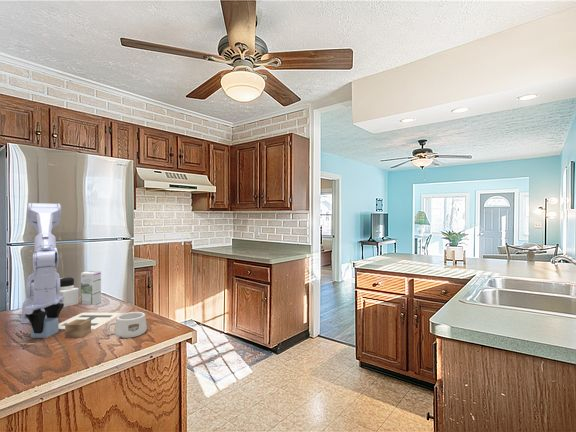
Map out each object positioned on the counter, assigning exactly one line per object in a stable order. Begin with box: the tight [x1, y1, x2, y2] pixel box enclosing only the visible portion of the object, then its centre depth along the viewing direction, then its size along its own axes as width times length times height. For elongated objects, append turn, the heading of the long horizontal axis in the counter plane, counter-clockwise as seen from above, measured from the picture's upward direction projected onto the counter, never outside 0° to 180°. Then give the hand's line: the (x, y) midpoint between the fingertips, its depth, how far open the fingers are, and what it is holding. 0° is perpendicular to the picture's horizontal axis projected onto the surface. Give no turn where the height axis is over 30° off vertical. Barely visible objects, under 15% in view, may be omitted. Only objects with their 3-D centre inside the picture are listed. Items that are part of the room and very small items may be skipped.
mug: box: [106, 311, 148, 339], centre depth 103 cm, size 12×10×6 cm
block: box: [64, 319, 92, 339], centre depth 100 cm, size 5×5×5 cm
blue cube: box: [30, 317, 60, 339], centre depth 100 cm, size 5×5×5 cm
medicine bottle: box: [56, 276, 80, 309], centre depth 136 cm, size 7×7×12 cm
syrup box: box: [80, 270, 102, 306], centre depth 138 cm, size 6×6×14 cm
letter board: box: [58, 312, 123, 330], centre depth 114 cm, size 16×18×1 cm
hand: (45, 329), depth 100 cm, fingers closed on blue cube, 5 cm apart
